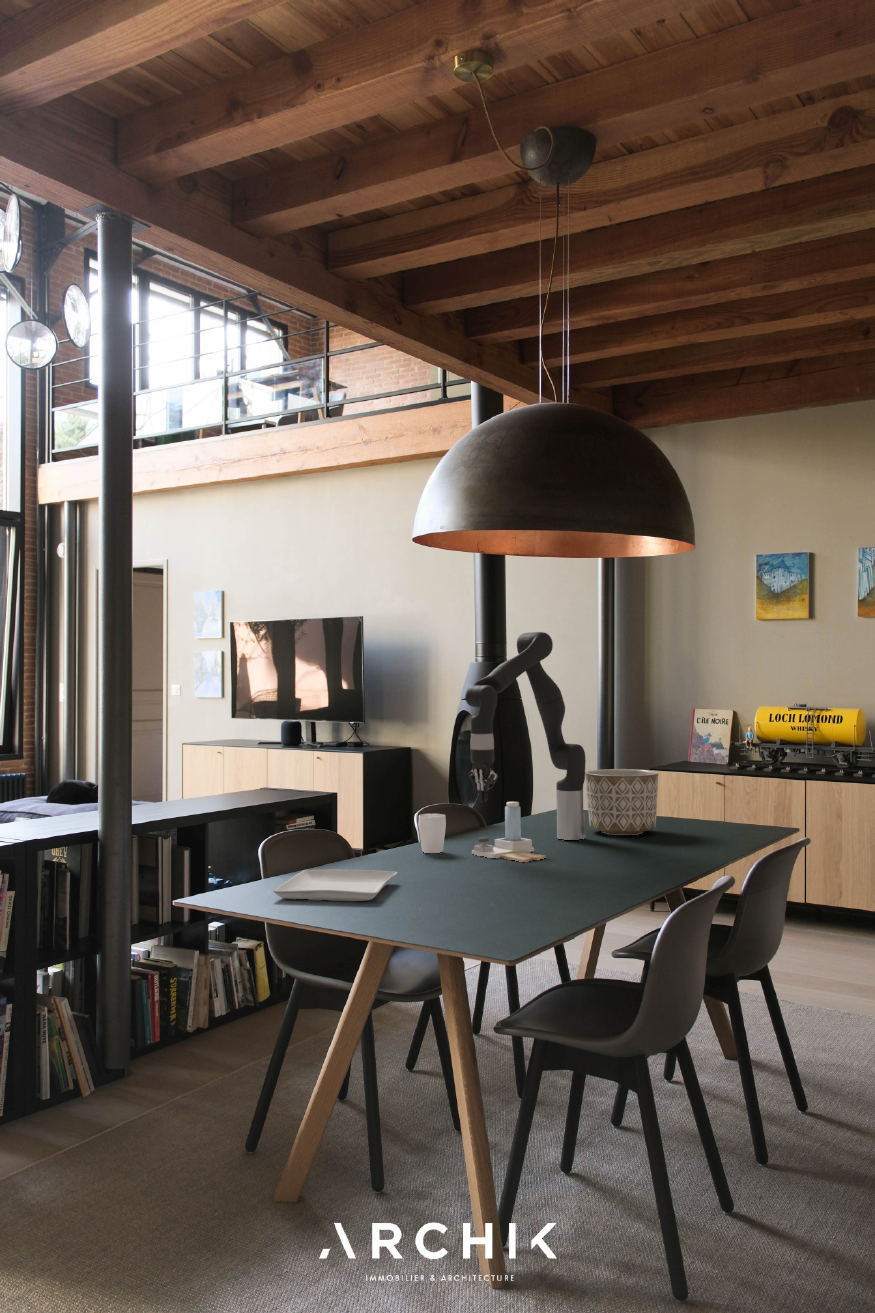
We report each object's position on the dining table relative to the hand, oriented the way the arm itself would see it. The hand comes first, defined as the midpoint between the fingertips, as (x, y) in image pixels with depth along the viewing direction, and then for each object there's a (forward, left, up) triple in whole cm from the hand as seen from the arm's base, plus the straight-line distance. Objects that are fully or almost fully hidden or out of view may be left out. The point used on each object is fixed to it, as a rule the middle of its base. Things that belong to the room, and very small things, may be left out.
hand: (483, 802), depth 315 cm
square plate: (+65, +15, -18) cm, 69 cm away
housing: (-6, +2, -17) cm, 18 cm away
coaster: (-5, +13, -17) cm, 22 cm away
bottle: (-11, +2, -15) cm, 19 cm away
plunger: (0, 0, -15) cm, 15 cm away
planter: (-67, 0, -17) cm, 69 cm away
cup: (+9, -15, -17) cm, 24 cm away
